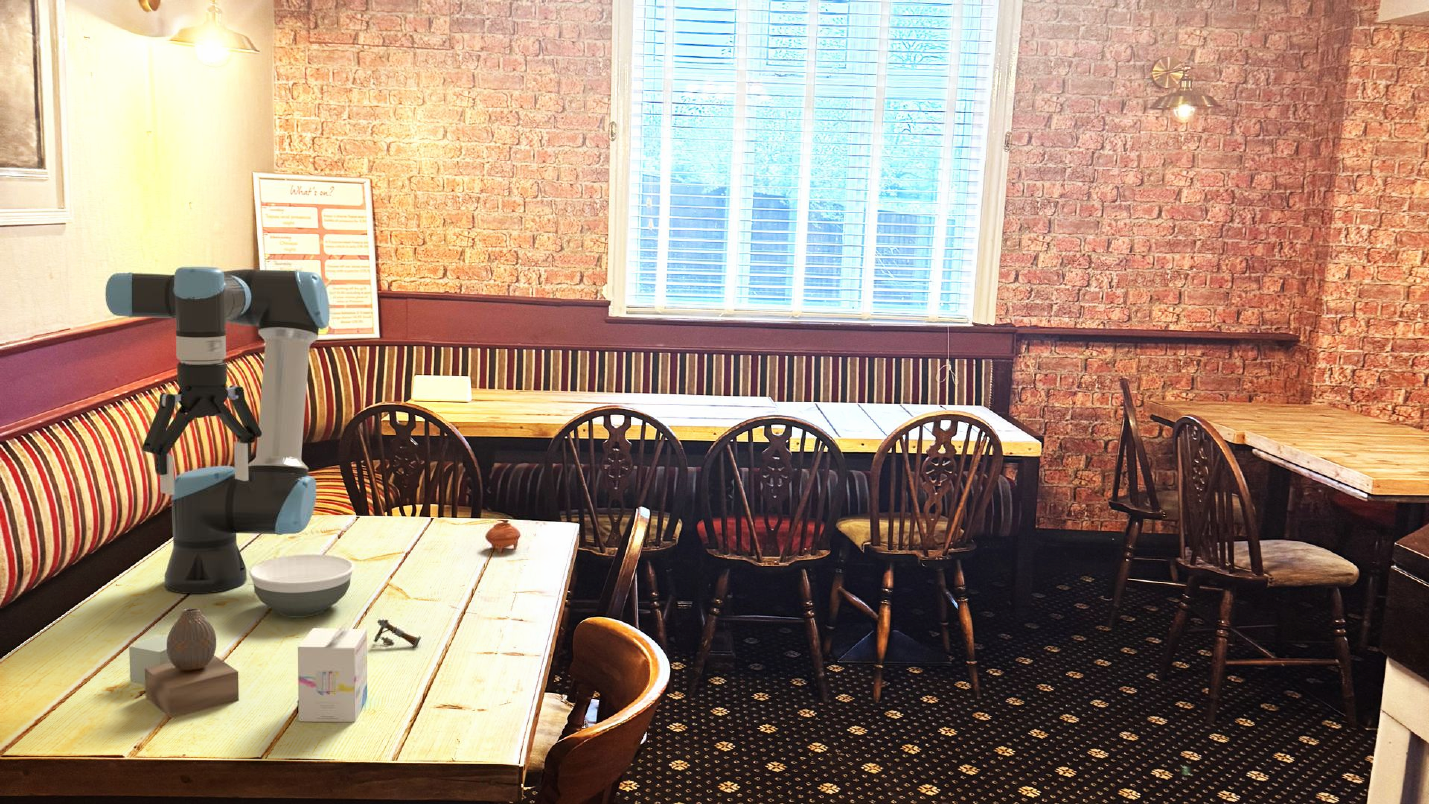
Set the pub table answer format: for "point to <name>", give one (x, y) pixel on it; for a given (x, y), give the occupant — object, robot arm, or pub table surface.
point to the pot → (503, 536)
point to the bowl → (301, 583)
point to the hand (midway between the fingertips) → (205, 486)
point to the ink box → (332, 675)
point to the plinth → (191, 687)
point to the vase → (191, 641)
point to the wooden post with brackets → (398, 632)
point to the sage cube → (147, 656)
